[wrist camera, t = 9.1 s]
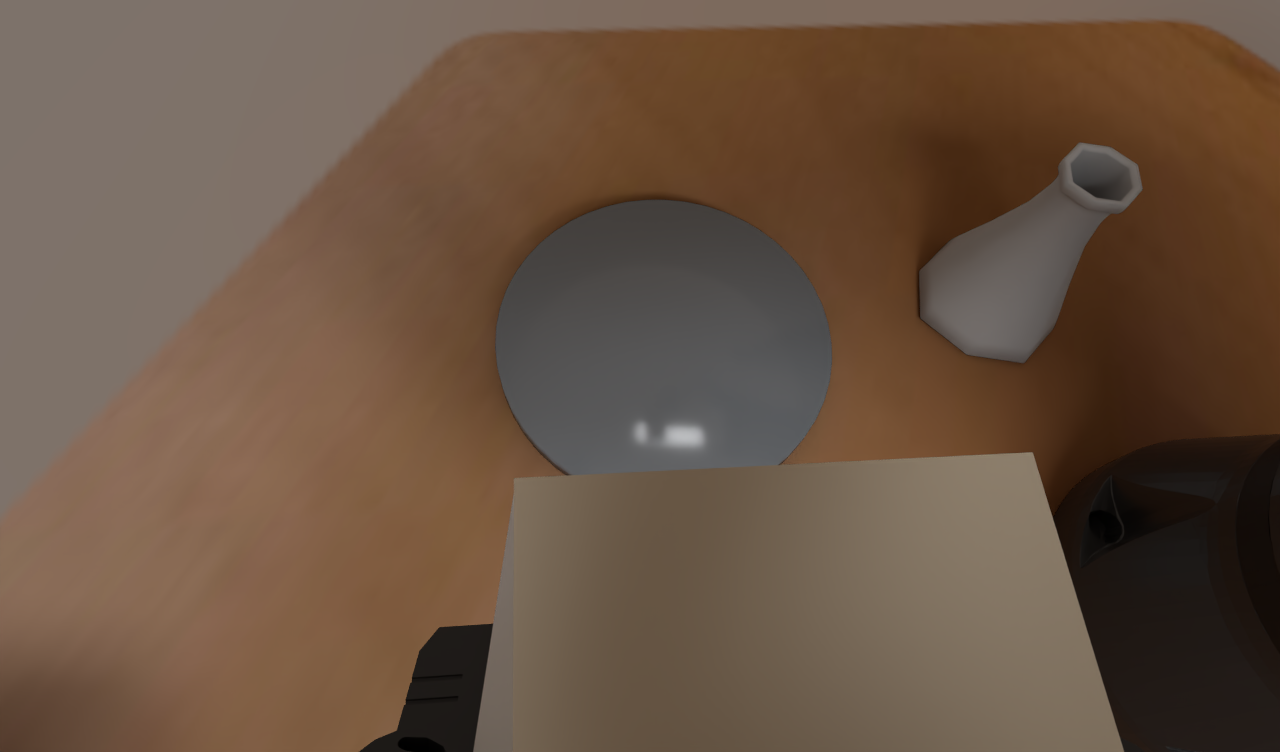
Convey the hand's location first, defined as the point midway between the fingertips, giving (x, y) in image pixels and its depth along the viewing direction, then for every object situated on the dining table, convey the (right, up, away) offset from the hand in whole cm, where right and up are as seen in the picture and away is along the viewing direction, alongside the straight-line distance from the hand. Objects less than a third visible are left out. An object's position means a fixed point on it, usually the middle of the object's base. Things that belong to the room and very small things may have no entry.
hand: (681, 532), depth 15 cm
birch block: (0, -5, +2) cm, 5 cm away
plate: (0, +5, +21) cm, 22 cm away
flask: (+17, +7, +23) cm, 30 cm away
